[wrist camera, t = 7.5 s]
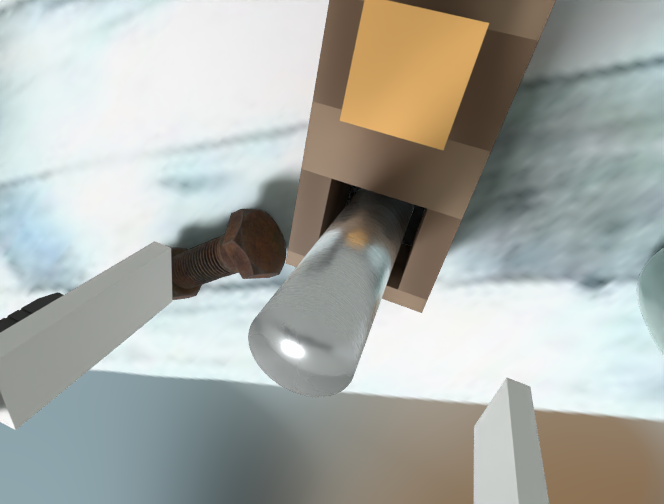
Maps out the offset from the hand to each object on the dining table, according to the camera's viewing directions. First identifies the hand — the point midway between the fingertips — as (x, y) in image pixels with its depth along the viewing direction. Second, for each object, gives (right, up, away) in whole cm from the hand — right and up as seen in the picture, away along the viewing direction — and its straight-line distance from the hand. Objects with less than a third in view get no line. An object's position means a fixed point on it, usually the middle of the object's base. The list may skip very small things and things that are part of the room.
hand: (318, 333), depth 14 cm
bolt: (-10, +3, +20) cm, 23 cm away
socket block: (+5, +10, +10) cm, 15 cm away
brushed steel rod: (+4, +7, +12) cm, 15 cm away
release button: (+6, +13, +7) cm, 16 cm away
